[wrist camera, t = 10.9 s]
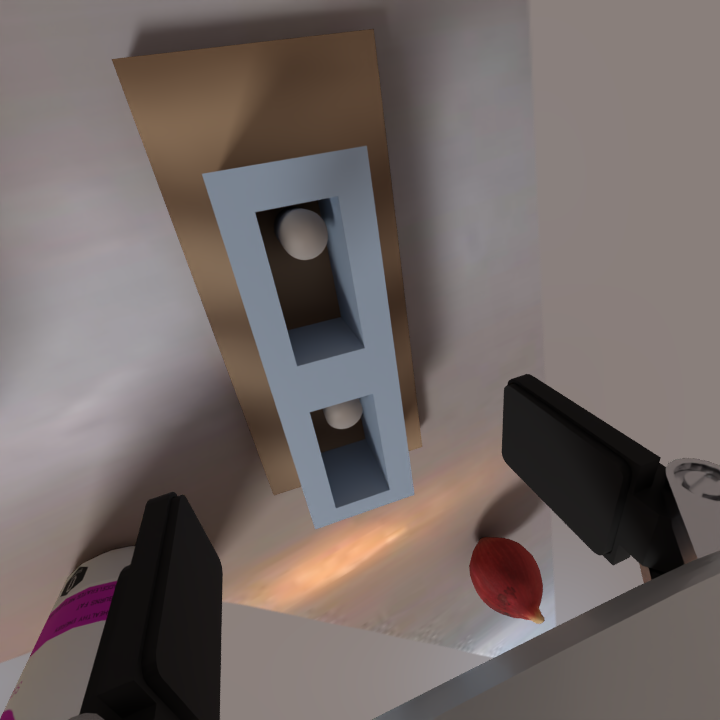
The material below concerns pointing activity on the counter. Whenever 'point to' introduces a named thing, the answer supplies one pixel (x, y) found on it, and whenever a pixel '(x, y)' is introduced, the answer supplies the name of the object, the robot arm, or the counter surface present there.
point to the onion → (507, 578)
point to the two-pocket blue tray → (323, 328)
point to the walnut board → (279, 225)
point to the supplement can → (68, 643)
